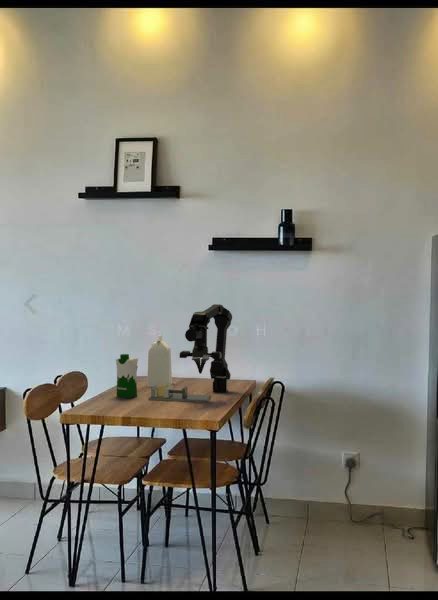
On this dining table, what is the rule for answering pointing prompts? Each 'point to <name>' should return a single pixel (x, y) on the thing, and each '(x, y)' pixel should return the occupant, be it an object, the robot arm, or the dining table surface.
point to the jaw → (174, 391)
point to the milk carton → (126, 376)
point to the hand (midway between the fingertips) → (200, 373)
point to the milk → (159, 364)
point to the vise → (178, 397)
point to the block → (161, 390)
